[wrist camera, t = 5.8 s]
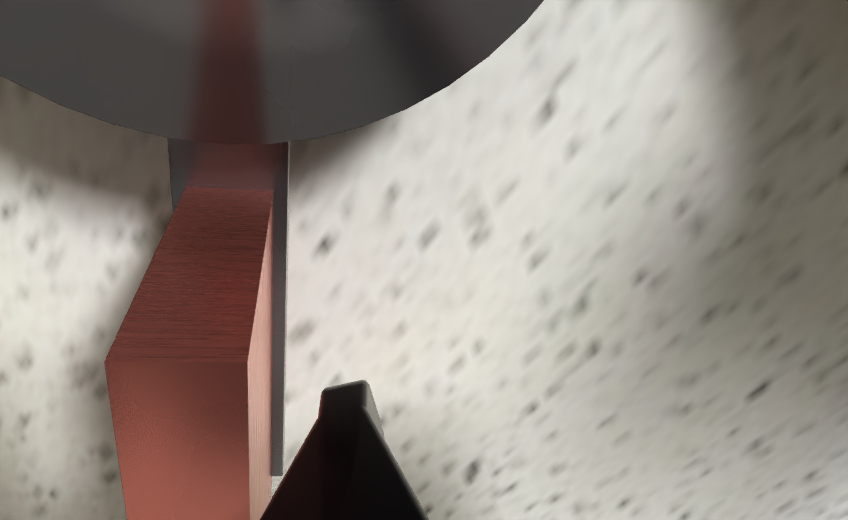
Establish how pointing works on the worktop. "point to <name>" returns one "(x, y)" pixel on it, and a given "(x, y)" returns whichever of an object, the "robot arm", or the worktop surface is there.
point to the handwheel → (228, 197)
